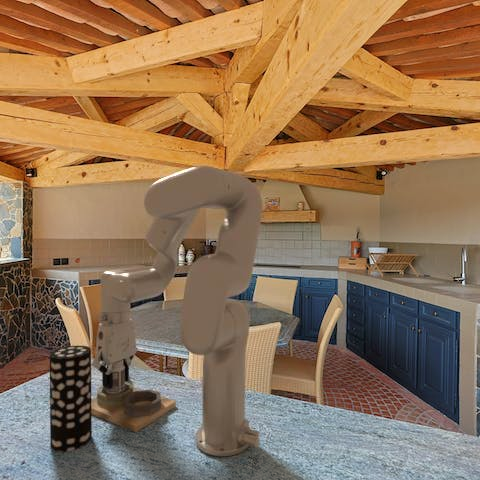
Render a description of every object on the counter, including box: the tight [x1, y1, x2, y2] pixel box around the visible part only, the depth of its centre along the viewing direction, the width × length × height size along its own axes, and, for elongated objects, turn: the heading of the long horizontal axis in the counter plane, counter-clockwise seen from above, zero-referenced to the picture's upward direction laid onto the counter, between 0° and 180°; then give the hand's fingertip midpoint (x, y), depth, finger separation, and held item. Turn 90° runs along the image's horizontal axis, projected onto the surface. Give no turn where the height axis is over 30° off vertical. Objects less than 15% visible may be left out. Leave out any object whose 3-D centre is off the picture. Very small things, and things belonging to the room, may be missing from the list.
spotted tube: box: [49, 345, 93, 453], centre depth 80 cm, size 8×8×20 cm
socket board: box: [91, 381, 177, 433], centre depth 95 cm, size 20×14×4 cm
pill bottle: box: [106, 360, 126, 394], centre depth 97 cm, size 5×5×8 cm
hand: (116, 383), depth 97 cm, fingers closed on pill bottle, 4 cm apart
